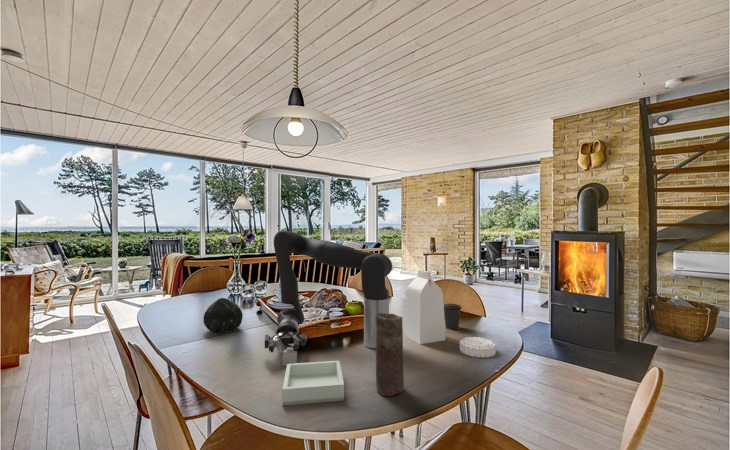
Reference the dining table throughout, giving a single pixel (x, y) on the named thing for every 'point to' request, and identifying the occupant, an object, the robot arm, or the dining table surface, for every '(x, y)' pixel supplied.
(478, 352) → the mooncake
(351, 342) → the dining table surface
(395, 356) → the candle
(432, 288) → the milk
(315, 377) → the bin
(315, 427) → the dining table surface
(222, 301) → the squash
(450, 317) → the coffee cup
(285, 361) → the lighter
